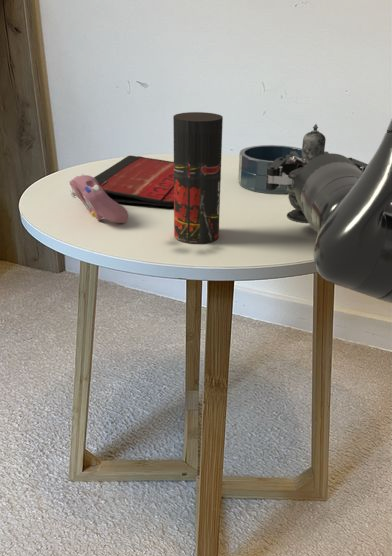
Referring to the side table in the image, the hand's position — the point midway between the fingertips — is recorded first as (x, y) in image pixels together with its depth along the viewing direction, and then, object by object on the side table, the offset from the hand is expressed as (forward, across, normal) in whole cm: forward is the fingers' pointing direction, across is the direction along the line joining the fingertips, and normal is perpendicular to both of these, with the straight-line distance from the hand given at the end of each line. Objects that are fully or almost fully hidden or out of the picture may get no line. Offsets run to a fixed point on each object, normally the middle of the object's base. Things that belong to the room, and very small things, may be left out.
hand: (307, 159), depth 80 cm
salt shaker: (-3, 0, +7) cm, 8 cm away
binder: (+17, +22, +9) cm, 29 cm away
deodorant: (-5, +15, +9) cm, 18 cm away
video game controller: (+2, +29, +9) cm, 30 cm away
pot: (+20, +1, +9) cm, 22 cm away
